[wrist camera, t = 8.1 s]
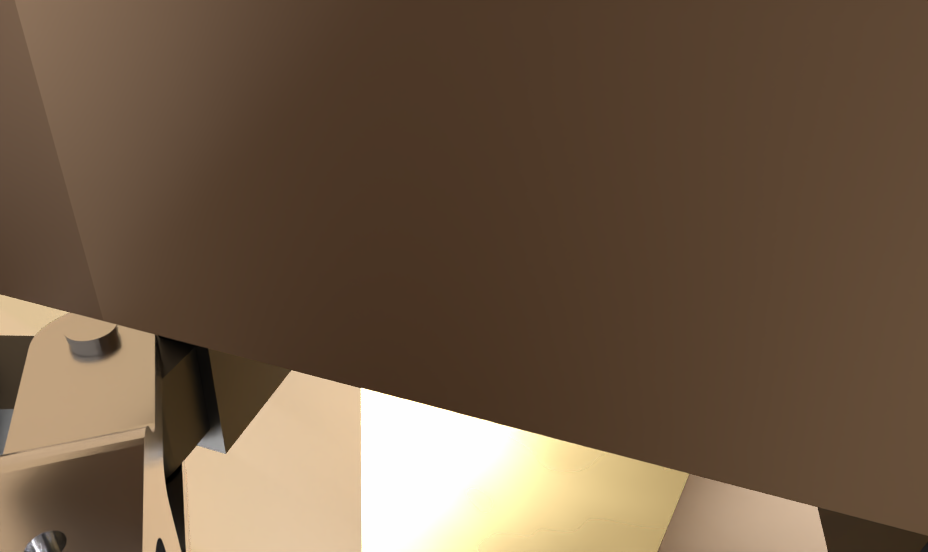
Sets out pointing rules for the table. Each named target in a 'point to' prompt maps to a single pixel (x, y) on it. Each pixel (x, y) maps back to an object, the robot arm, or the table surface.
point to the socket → (509, 213)
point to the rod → (500, 487)
